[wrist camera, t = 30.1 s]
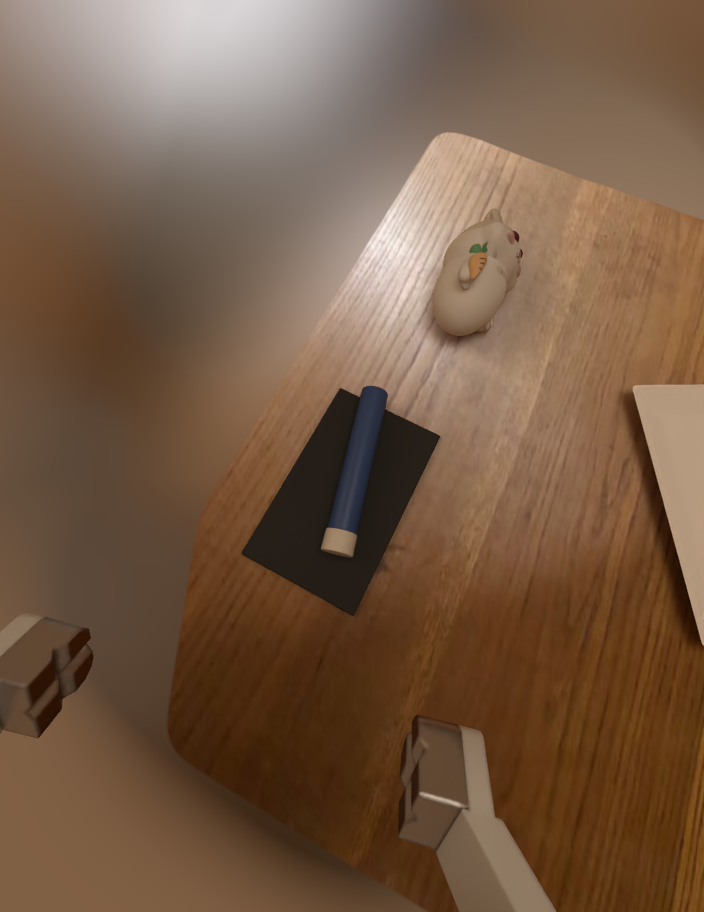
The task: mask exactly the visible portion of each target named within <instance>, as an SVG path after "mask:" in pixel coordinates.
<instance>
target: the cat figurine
mask: <svg viewBox="0 0 704 912" xmlns="http://www.w3.org/2000/svg"><path fill="white" fill-rule="evenodd" d="M522 255H523V252H522V250H521V249H520V246H519V235H518V233H517V232H515V231H512V229H510V228H509V227H508V226H506V225H504V223H503V221H502V218H501V215H500V212H499V211H498V210H497V209H491V210H490V211H489V212H488V214H487V215H486V217H485V219H484V220H483V221H482V222H479V223H477V224H474V225H473V226H471V227H469V228H468V229H466V230H465V231H464V232H462V233H461V234H460V235H459V236H458V237H457V238H456V239H455V240H454V241H453V242H452V243H451V244H450V245H449V247H448V249H447V251H446V253H445V257H444V262H443V270H442V272H441V273H440V275H439V277H438V279H437V281H436V284H435V287H434V291H433V297H432V306H433V312H434V316H435V318H436V320H437V322H438V324H439V325H440V327H441V328H442V329H443V330H444V331H446V332H447V333H449V334H451V335H455V336H464V335H468V334H471V333H473V332H475V331H477V332H487V331H488V330H489V329H490V327H493V326H494V325H493V319H494V316H495V314H496V312H497V310H498V309H499V307H500V305H501V303H502V301H503V299H504V296H505V293H506V292H507V291H510V290H511V289H512V288H513V287H514V286H515V284H516V281H517V278H518V277H519V275H520V259H521V257H522Z"/></svg>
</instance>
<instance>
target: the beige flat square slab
mask: <svg viewBox="0 0 704 912" xmlns="http://www.w3.org/2000/svg"><path fill="white" fill-rule="evenodd" d="M632 389H633V393H634V397H635V400H636V404H637V408H638V411H639V415H640V419H641V422H642V426H643V430H644V433H645V437H646V441H647V444H648V448H649V452H650V455H651V459H652V463H653V466H654V470H655V474H656V477H657V481H658V485H659V488H660V492H661V496H662V499H663V503H664V507H665V510H666V514H667V518H668V521H669V525H670V529H671V532H672V536H673V540H674V543H675V547H676V551H677V554H678V558H679V562H680V565H681V569H682V573H683V576H684V580H685V584H686V587H687V591H688V595H689V598H690V602H691V606H692V609H693V613H694V617H695V620H696V624H697V628H698V631H699V635H700V639H701V642H702V644H703V645H704V385H635V386H634V387H633V388H632Z"/></svg>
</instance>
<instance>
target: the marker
mask: <svg viewBox="0 0 704 912" xmlns="http://www.w3.org/2000/svg"><path fill="white" fill-rule="evenodd" d="M387 397H388V394H387V392H386V391H385V390H383V389H382V388H379V387H375V386H366V387H364V388H363V389H362V392H361V396H360V400H359V404H358V408H357V412H356V416H355V420H354V424H353V428H352V432H351V436H350V440H349V444H348V448H347V452H346V456H345V459H344V463H343V467H342V471H341V475H340V479H339V483H338V487H337V491H336V495H335V499H334V503H333V507H332V511H331V515H330V519H329V523H328V527H327V528H326V531H325V535H324V539H323V543H322V547H321V550H322V551H325V552H328V553H331V554H335V555H339V556H344V557H353V553H354V548H355V544H356V539H357V530H358V526H359V521H360V517H361V512H362V508H363V504H364V499H365V495H366V490H367V486H368V482H369V477H370V473H371V468H372V464H373V459H374V455H375V451H376V446H377V442H378V437H379V433H380V428H381V424H382V420H383V415H384V411H385V406H386V402H387Z"/></svg>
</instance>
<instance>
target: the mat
mask: <svg viewBox="0 0 704 912" xmlns="http://www.w3.org/2000/svg"><path fill="white" fill-rule="evenodd" d="M359 400H360V397H358V396H356V395H354V394H352V393H350V392H348V391H346V390H343V389H341V388H340V389H339V391H338V393H337V394H336V396H335V398H334V399H333V401H332V403H331V404H330V406H329V408H328V409H327V411H326V413H325V414H324V416H323V418H322V419H321V421H320V423H319V424H318V426H317V428H316V429H315V431H314V433H313V434H312V436H311V438H310V439H309V441H308V443H307V444H306V446H305V448H304V450H303V451H302V453H301V455H300V456H299V458H298V460H297V461H296V463H295V465H294V466H293V468H292V470H291V471H290V473H289V475H288V476H287V478H286V480H285V481H284V483H283V485H282V486H281V488H280V490H279V491H278V493H277V495H276V496H275V498H274V500H273V501H272V503H271V505H270V506H269V508H268V510H267V511H266V513H265V515H264V516H263V518H262V520H261V521H260V523H259V525H258V526H257V528H256V530H255V531H254V533H253V535H252V536H251V538H250V540H249V541H248V543H247V545H246V547H245V548H244V550H243V552H242V554H243V555H245V556H247V557H249V558H250V559H252V560H254V561H256V562H258V563H259V564H261V565H263V566H265V567H267V568H268V569H270V570H272V571H274V572H276V573H277V574H279V575H281V576H283V577H285V578H286V579H288V580H290V581H292V582H294V583H295V584H297V585H299V586H301V587H303V588H304V589H306V590H308V591H310V592H312V593H313V594H315V595H317V596H319V597H321V598H322V599H324V600H326V601H328V602H330V603H331V604H333V605H335V606H337V607H339V608H340V609H342V610H344V611H346V612H348V613H349V614H351V615H354V614H355V612H356V610H357V608H358V606H359V603H360V601H361V599H362V597H363V595H364V593H365V591H366V589H367V587H368V585H369V583H370V581H371V579H372V577H373V574H374V572H375V570H376V568H377V566H378V564H379V562H380V560H381V558H382V556H383V554H384V552H385V550H386V548H387V545H388V543H389V541H390V539H391V537H392V535H393V533H394V531H395V529H396V527H397V525H398V523H399V521H400V519H401V517H402V514H403V512H404V510H405V508H406V506H407V504H408V502H409V500H410V498H411V496H412V494H413V492H414V490H415V488H416V485H417V483H418V481H419V479H420V477H421V475H422V473H423V471H424V469H425V467H426V465H427V463H428V461H429V459H430V456H431V454H432V452H433V450H434V448H435V446H436V444H437V442H438V440H439V438H440V436H439V435H437V434H435V433H433V432H431V431H429V430H427V429H425V428H422V427H420V426H418V425H416V424H414V423H412V422H410V421H408V420H406V419H404V418H402V417H400V416H397V415H395V414H393V413H391V412H389V411H387V410H385V411H384V415H383V420H382V424H381V428H380V433H379V437H378V442H377V446H376V451H375V455H374V459H373V464H372V468H371V473H370V477H369V482H368V486H367V490H366V495H365V499H364V504H363V508H362V512H361V517H360V521H359V526H358V530H357V539H356V544H355V548H354V553H353V557H344V556H339V555H335V554H331V553H328V552H325V551H322V550H321V547H322V543H323V539H324V535H325V531H326V528H327V527H328V523H329V519H330V515H331V511H332V507H333V503H334V499H335V495H336V491H337V487H338V483H339V479H340V475H341V471H342V467H343V463H344V459H345V456H346V452H347V448H348V444H349V440H350V436H351V432H352V428H353V424H354V420H355V416H356V412H357V408H358V404H359Z"/></svg>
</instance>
